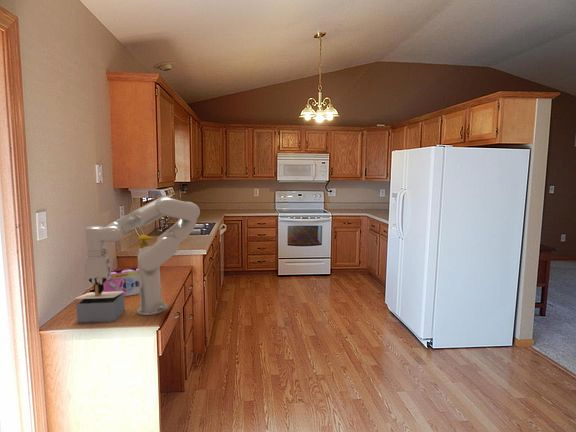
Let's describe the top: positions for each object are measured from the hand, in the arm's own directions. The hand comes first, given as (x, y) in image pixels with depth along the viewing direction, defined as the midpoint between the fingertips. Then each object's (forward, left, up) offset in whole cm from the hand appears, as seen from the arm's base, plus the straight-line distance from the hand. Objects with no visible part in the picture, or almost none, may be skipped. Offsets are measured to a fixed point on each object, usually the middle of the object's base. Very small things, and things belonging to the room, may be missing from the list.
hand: (99, 292), depth 171 cm
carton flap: (+1, -2, -2) cm, 3 cm away
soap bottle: (+15, -56, -13) cm, 59 cm away
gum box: (+11, -32, -13) cm, 36 cm away
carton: (+1, -2, -13) cm, 13 cm away
